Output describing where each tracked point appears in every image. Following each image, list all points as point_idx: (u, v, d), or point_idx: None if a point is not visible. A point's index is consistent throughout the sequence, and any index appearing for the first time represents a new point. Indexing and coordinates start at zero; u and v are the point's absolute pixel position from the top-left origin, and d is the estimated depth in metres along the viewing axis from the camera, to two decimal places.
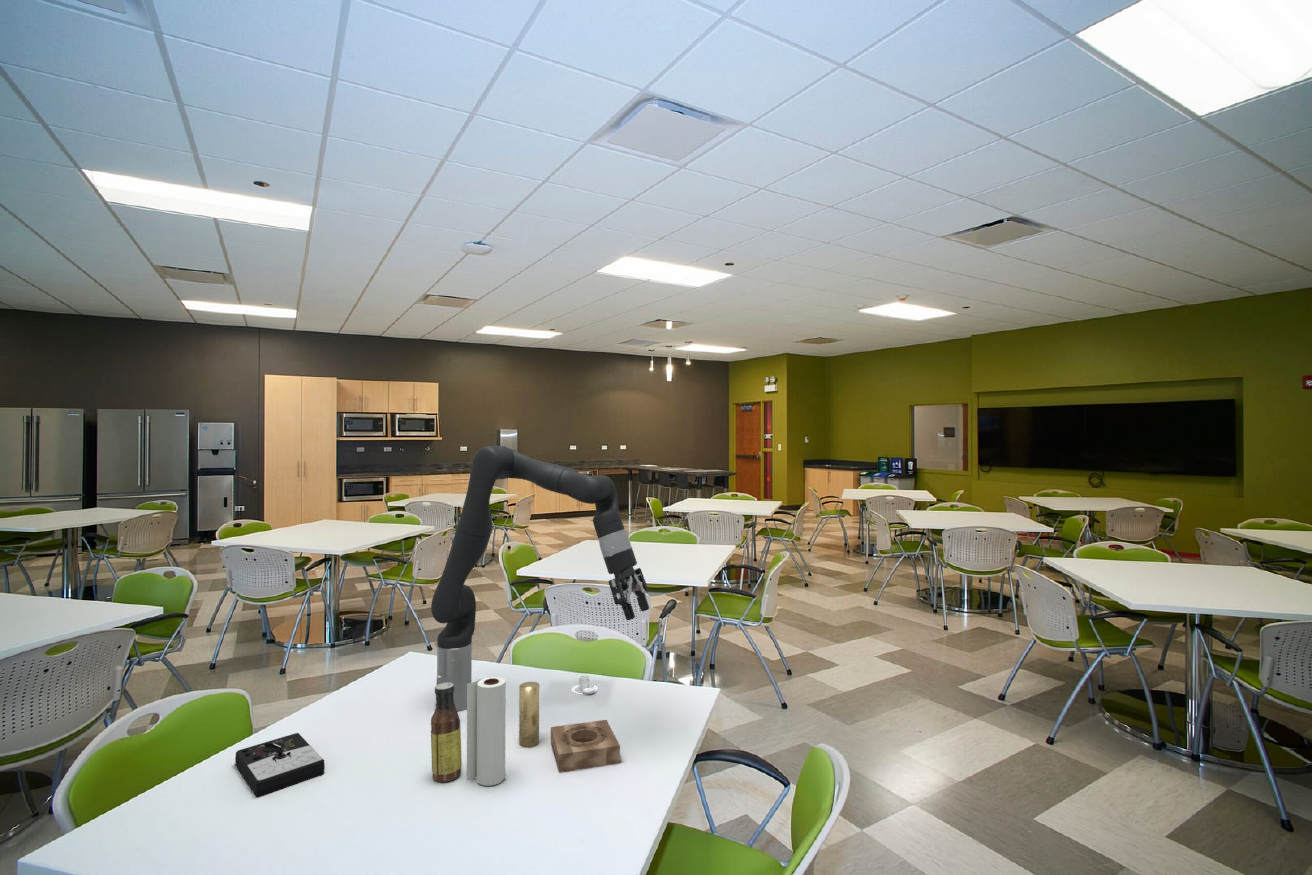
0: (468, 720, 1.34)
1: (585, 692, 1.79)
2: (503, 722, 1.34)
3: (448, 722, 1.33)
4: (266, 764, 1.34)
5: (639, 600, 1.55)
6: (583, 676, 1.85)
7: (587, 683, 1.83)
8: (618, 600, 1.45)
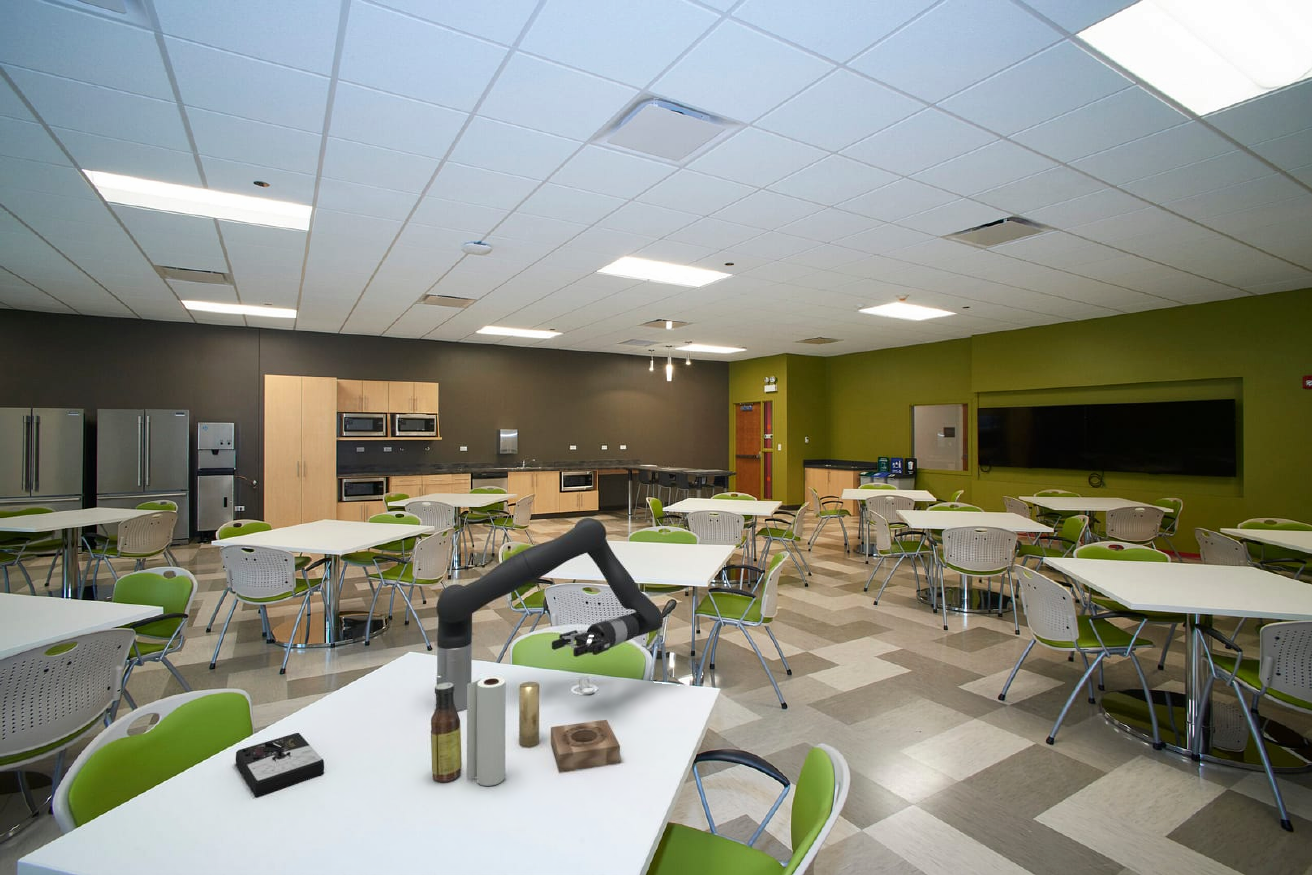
0: (468, 720, 1.34)
1: (585, 692, 1.79)
2: (503, 722, 1.34)
3: (448, 722, 1.33)
4: (266, 764, 1.34)
5: (561, 641, 1.64)
6: (583, 676, 1.85)
7: (587, 683, 1.83)
8: (596, 649, 1.59)
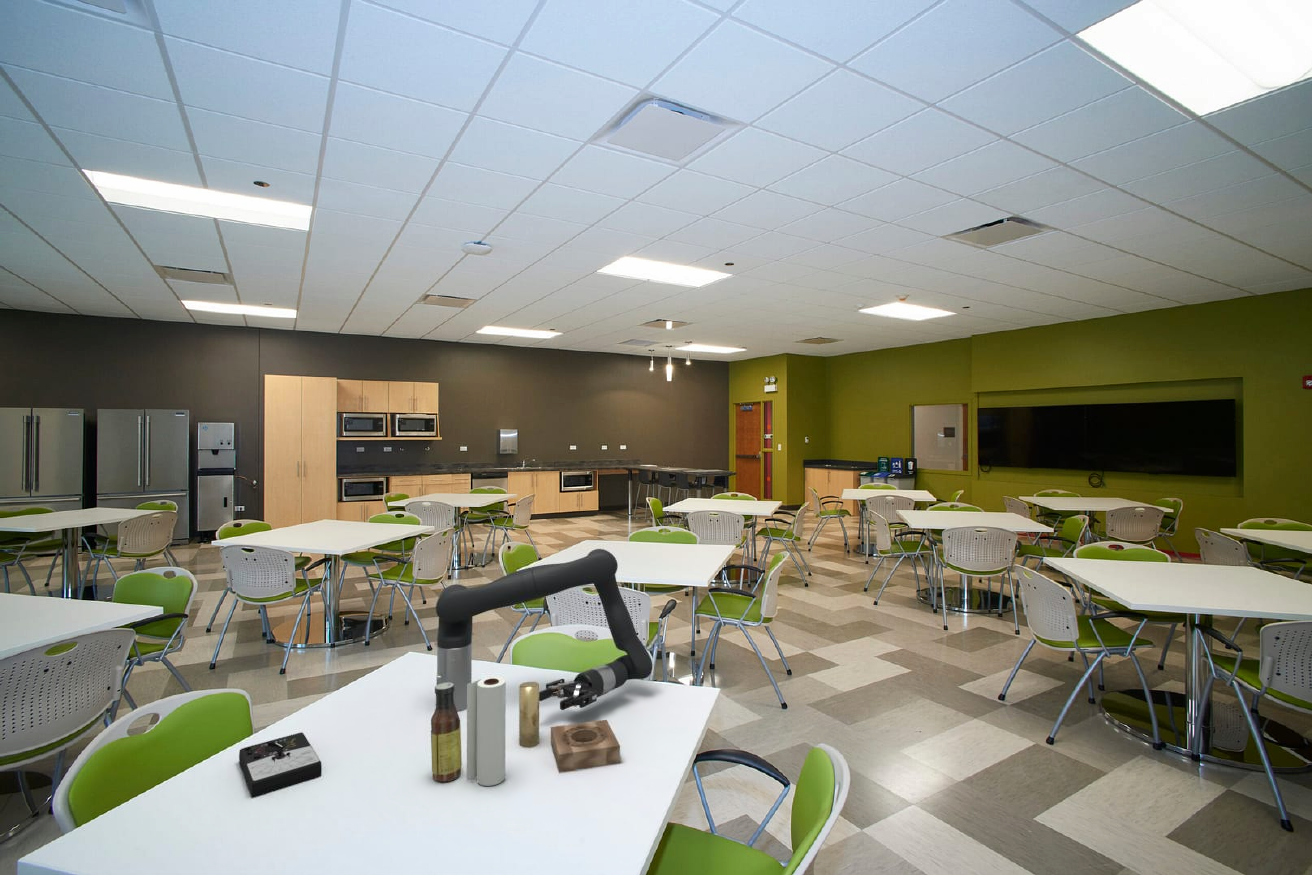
0: (468, 720, 1.34)
1: None
2: (503, 722, 1.34)
3: (448, 722, 1.33)
4: (265, 764, 1.34)
5: (547, 691, 1.61)
6: None
7: None
8: (583, 701, 1.56)
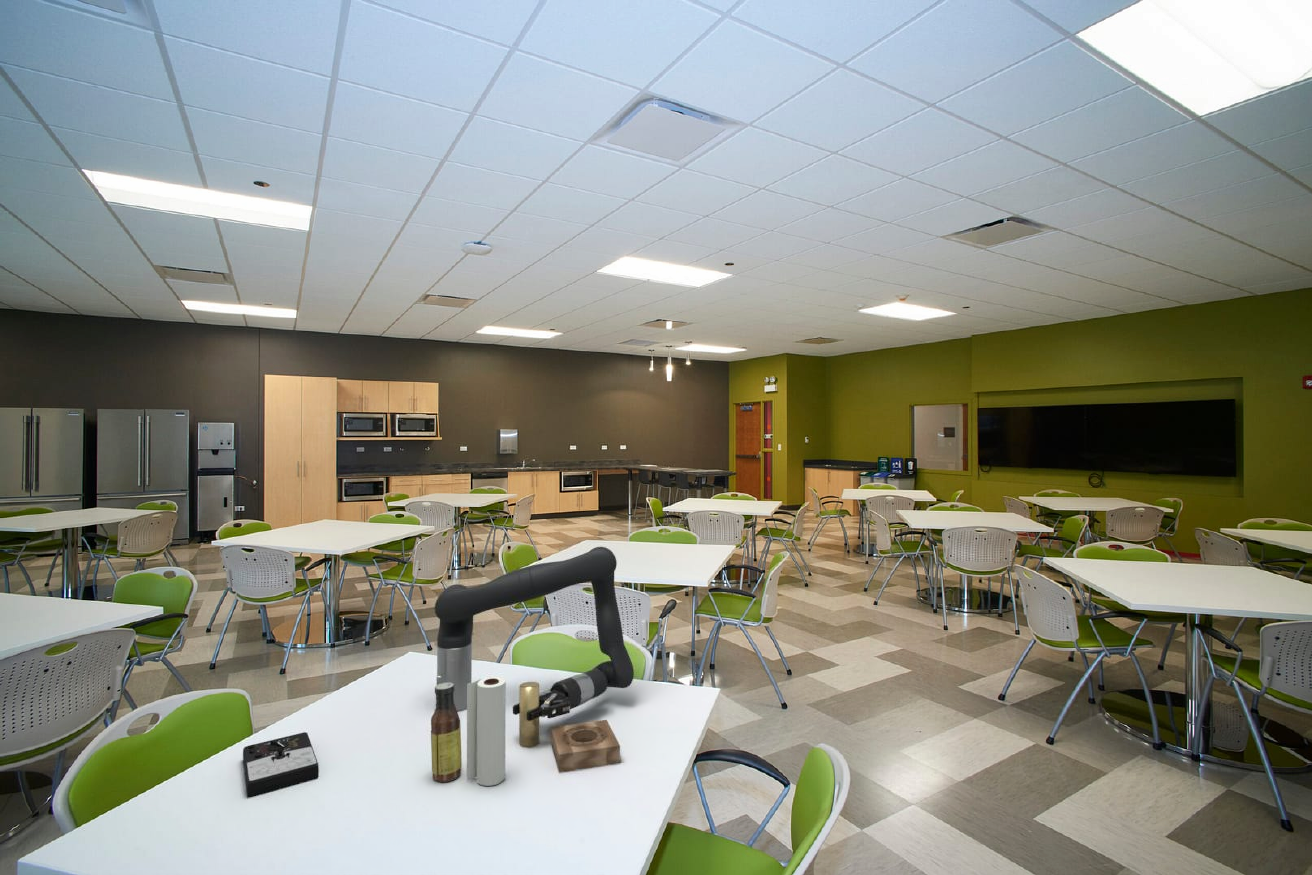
0: (468, 720, 1.34)
1: None
2: (503, 722, 1.34)
3: (448, 722, 1.33)
4: (264, 763, 1.34)
5: None
6: None
7: None
8: (551, 712, 1.49)
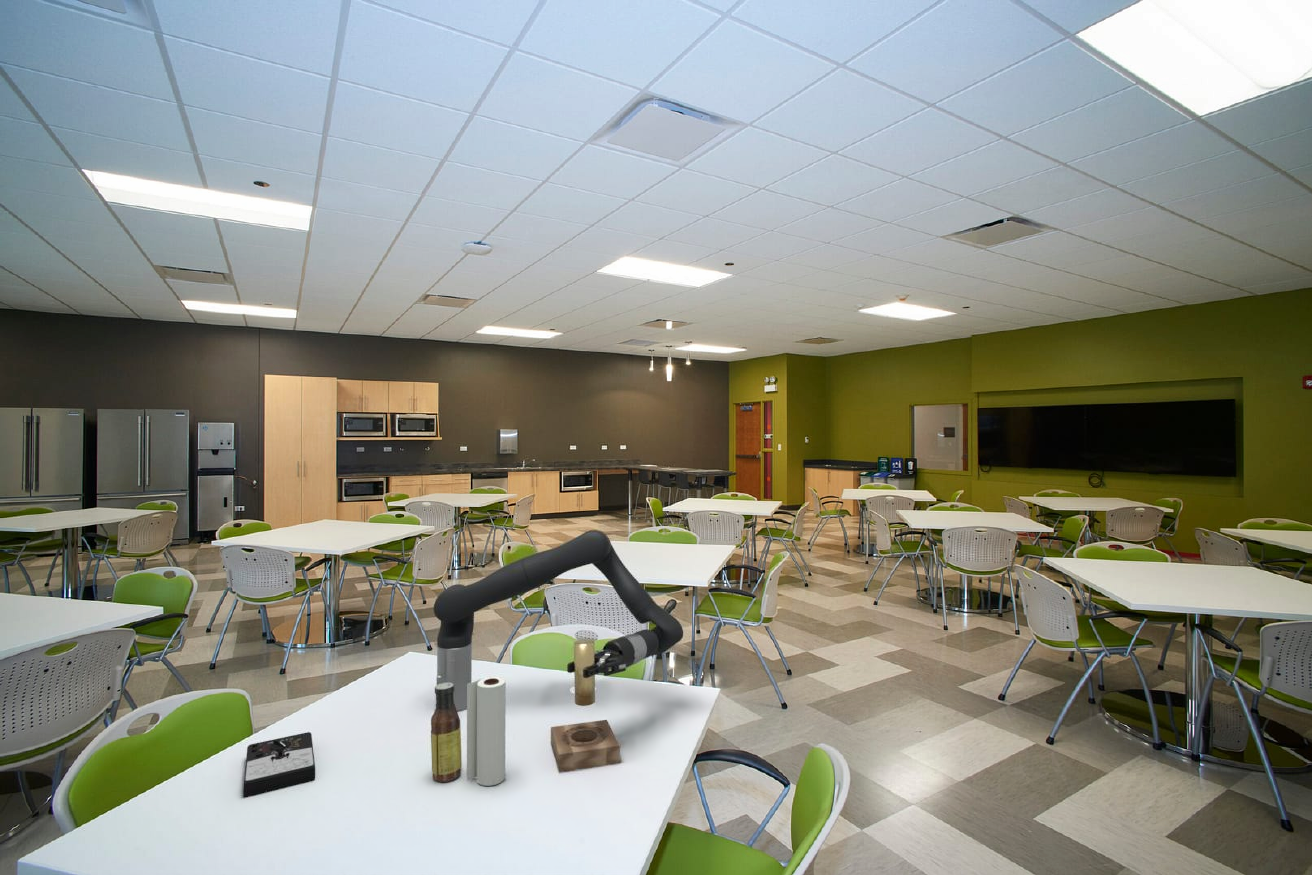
0: (468, 720, 1.34)
1: None
2: (503, 722, 1.34)
3: (448, 722, 1.33)
4: (263, 763, 1.34)
5: None
6: None
7: None
8: (608, 669, 1.45)
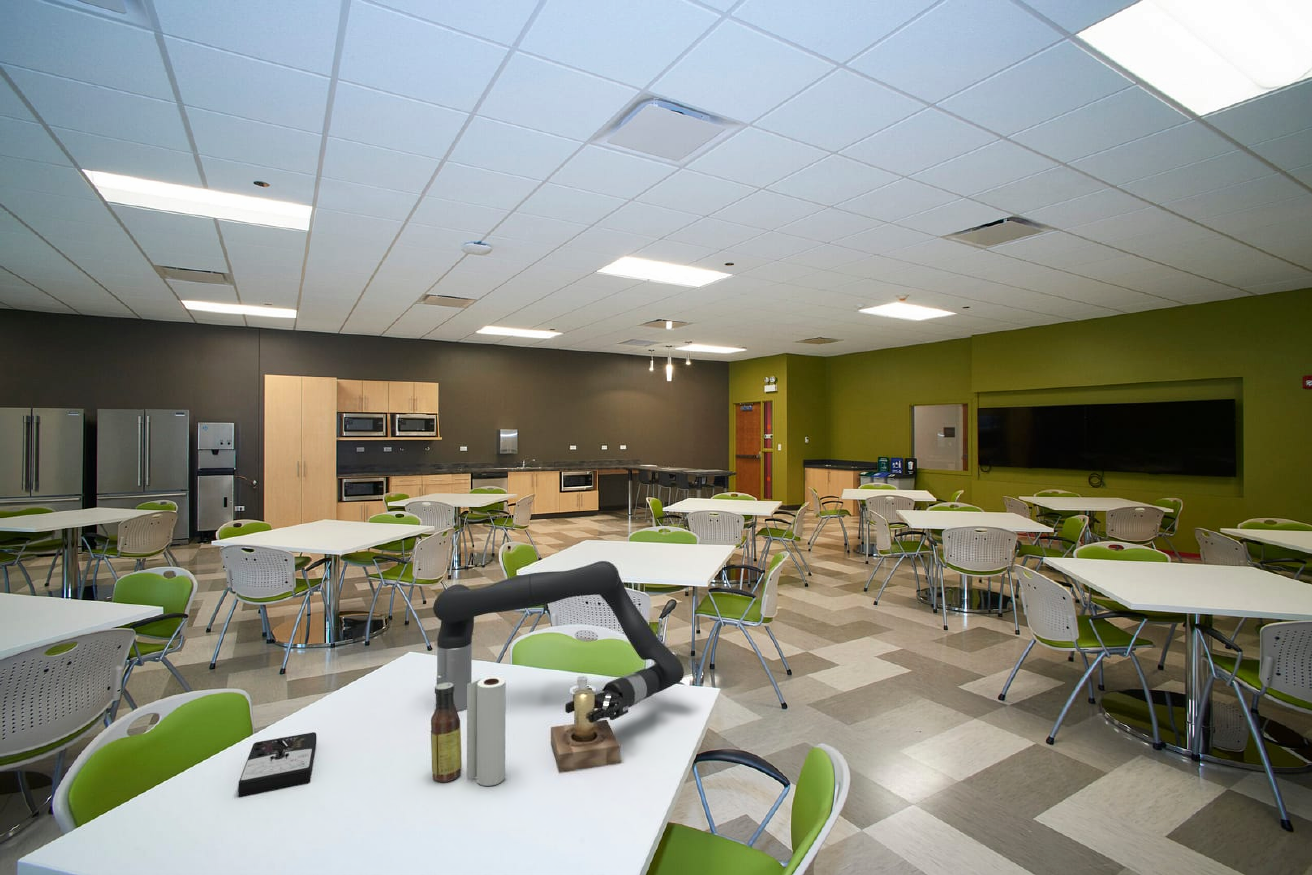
0: (468, 720, 1.34)
1: None
2: (503, 722, 1.34)
3: (448, 722, 1.33)
4: (262, 762, 1.35)
5: None
6: (581, 677, 1.85)
7: (585, 684, 1.82)
8: (614, 713, 1.44)
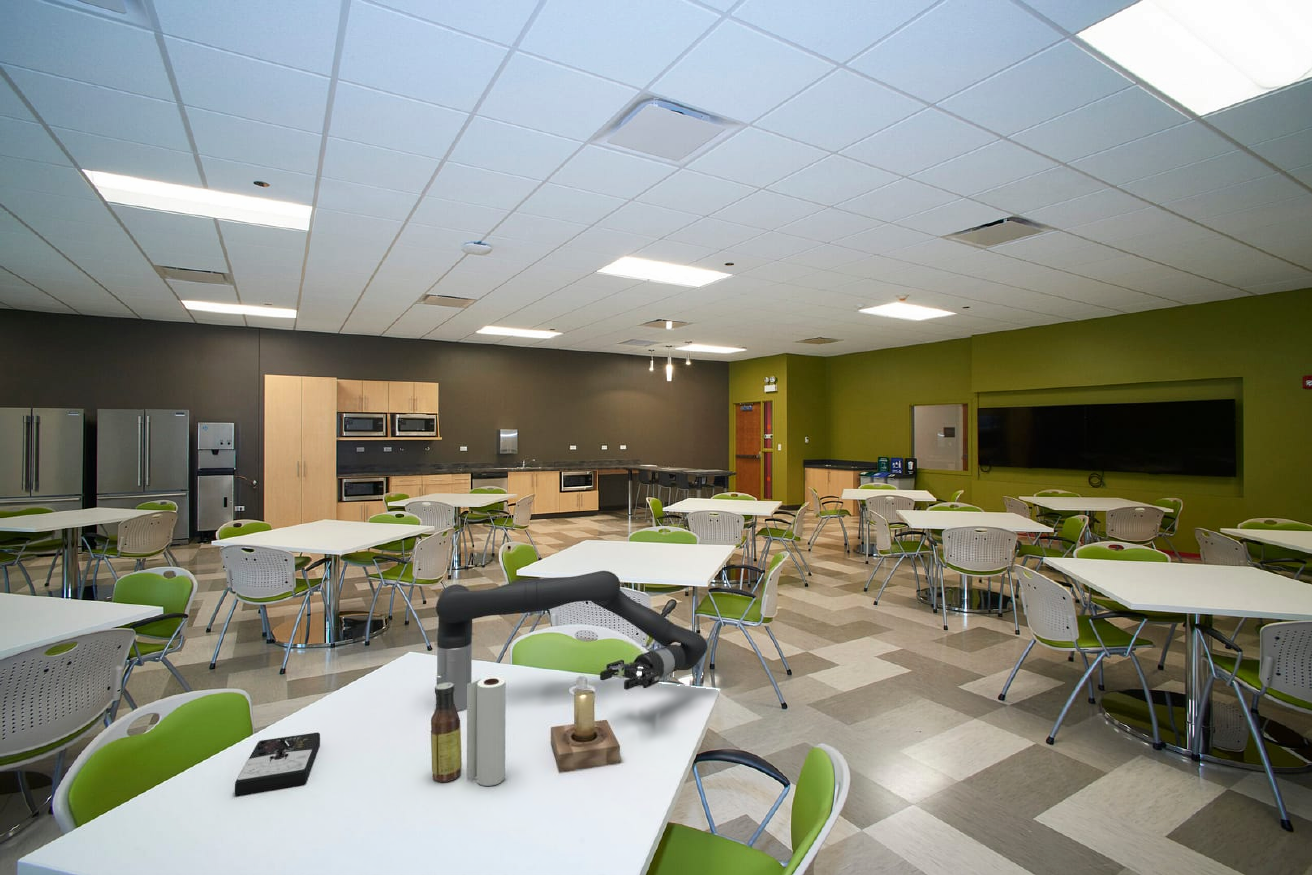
0: (468, 720, 1.34)
1: None
2: (503, 722, 1.34)
3: (448, 722, 1.33)
4: (261, 762, 1.35)
5: (609, 671, 1.59)
6: (581, 677, 1.85)
7: (585, 684, 1.82)
8: (647, 682, 1.54)
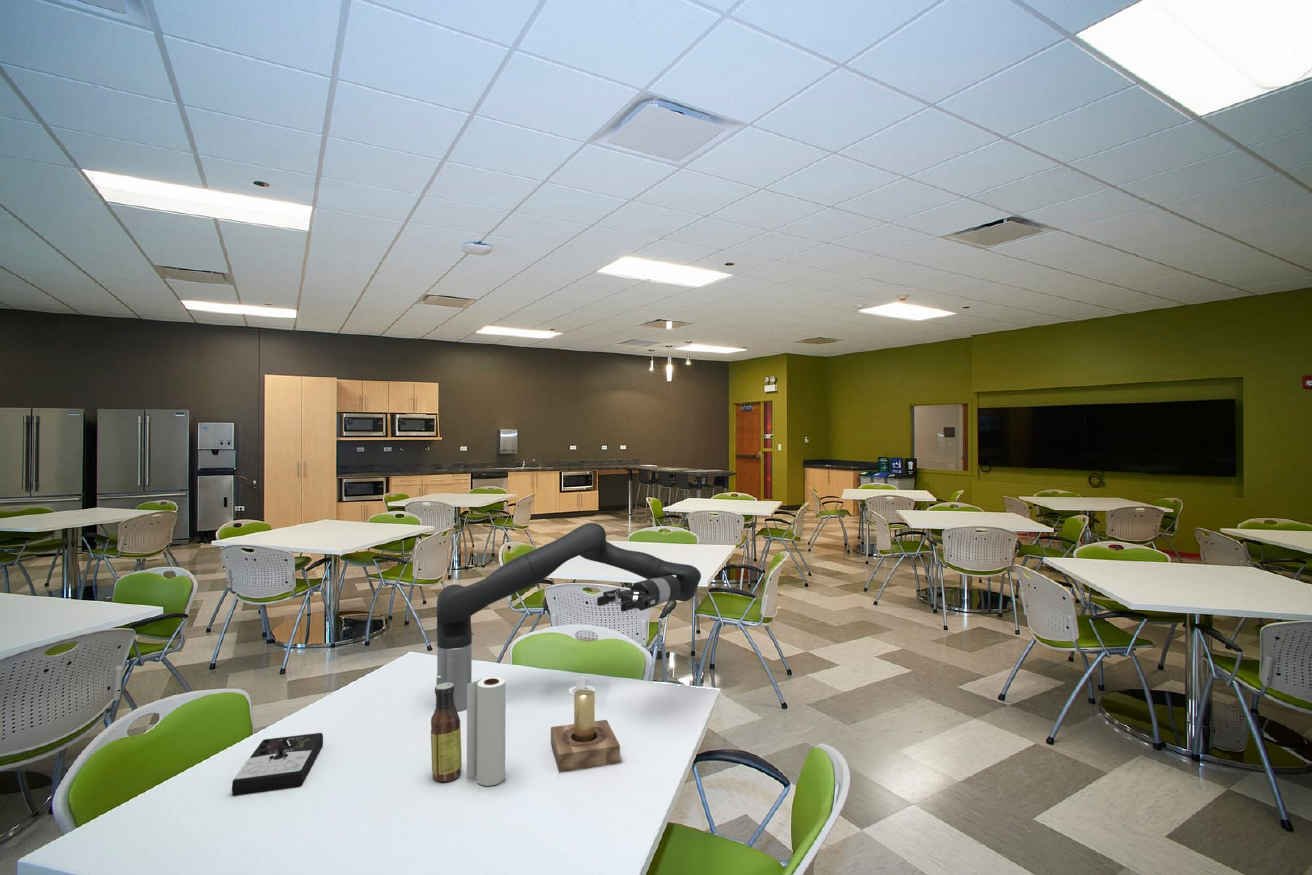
0: (468, 720, 1.34)
1: None
2: (503, 722, 1.34)
3: (448, 722, 1.33)
4: (261, 762, 1.35)
5: (606, 597, 1.63)
6: (580, 677, 1.84)
7: (584, 684, 1.82)
8: (643, 604, 1.58)
